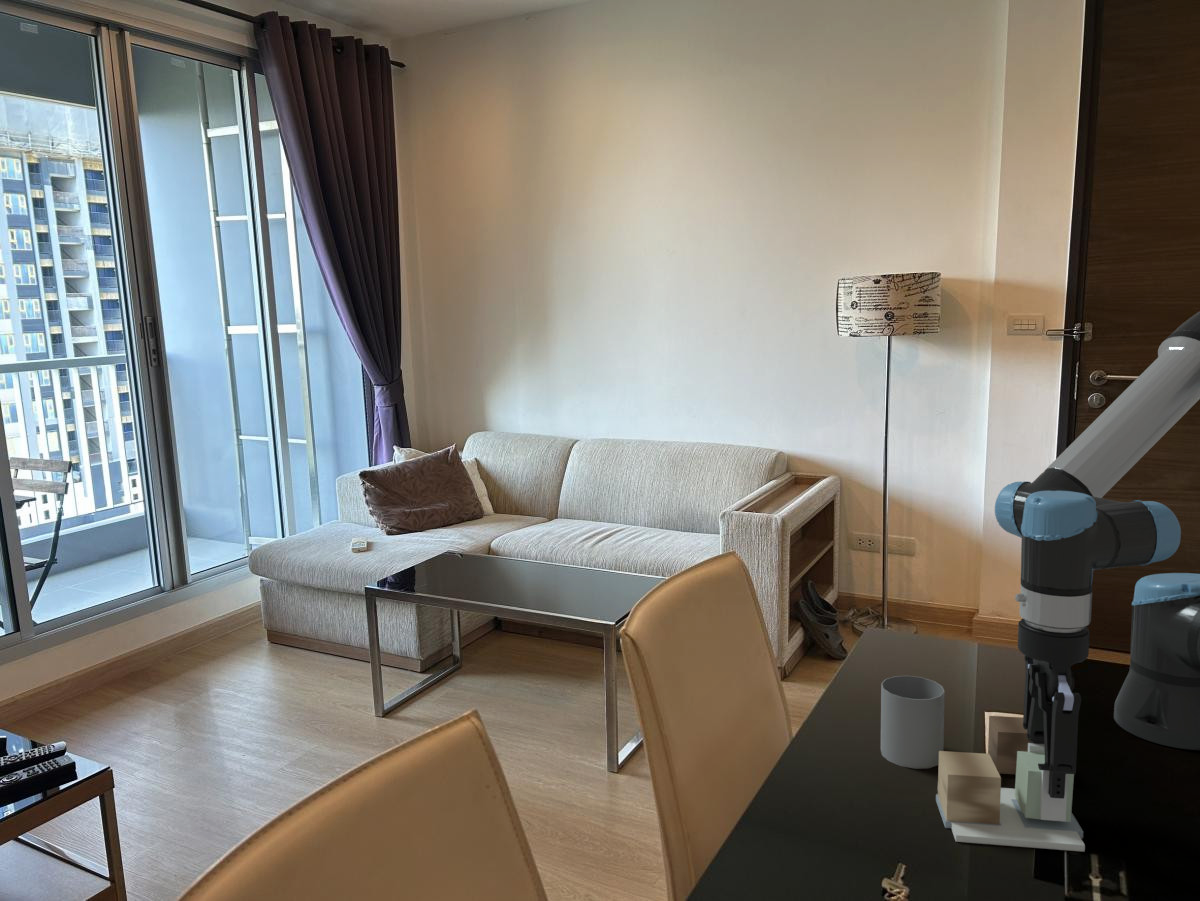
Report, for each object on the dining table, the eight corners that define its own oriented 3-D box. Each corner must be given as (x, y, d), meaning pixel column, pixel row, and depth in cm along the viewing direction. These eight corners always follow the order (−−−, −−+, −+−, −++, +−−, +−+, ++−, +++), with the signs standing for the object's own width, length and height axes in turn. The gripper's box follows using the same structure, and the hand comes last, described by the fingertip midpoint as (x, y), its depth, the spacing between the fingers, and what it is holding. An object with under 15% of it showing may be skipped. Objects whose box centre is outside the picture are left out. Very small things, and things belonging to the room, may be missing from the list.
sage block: (1057, 799, 109) (1060, 754, 109) (1070, 822, 105) (1073, 774, 104) (1014, 796, 110) (1017, 751, 110) (1025, 817, 106) (1028, 770, 105)
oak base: (987, 798, 112) (989, 753, 111) (999, 824, 106) (1001, 777, 105) (937, 795, 113) (938, 750, 112) (946, 820, 107) (947, 774, 106)
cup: (947, 770, 120) (948, 701, 119) (884, 766, 122) (885, 698, 121) (936, 742, 129) (938, 677, 127) (878, 738, 130) (878, 674, 129)
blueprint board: (1058, 797, 113) (1058, 791, 113) (1091, 852, 101) (1091, 845, 101) (932, 788, 116) (932, 782, 116) (949, 841, 104) (949, 834, 104)
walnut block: (1025, 758, 123) (1027, 717, 122) (1036, 776, 118) (1037, 733, 118) (987, 755, 124) (989, 715, 123) (996, 773, 119) (997, 731, 119)
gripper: (1000, 598, 114) (994, 767, 117) (1041, 648, 96) (1033, 845, 99) (1063, 600, 112) (1055, 772, 115) (1117, 651, 95) (1105, 851, 98)
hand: (1045, 805), depth 107 cm, fingers closed on sage block, 5 cm apart
